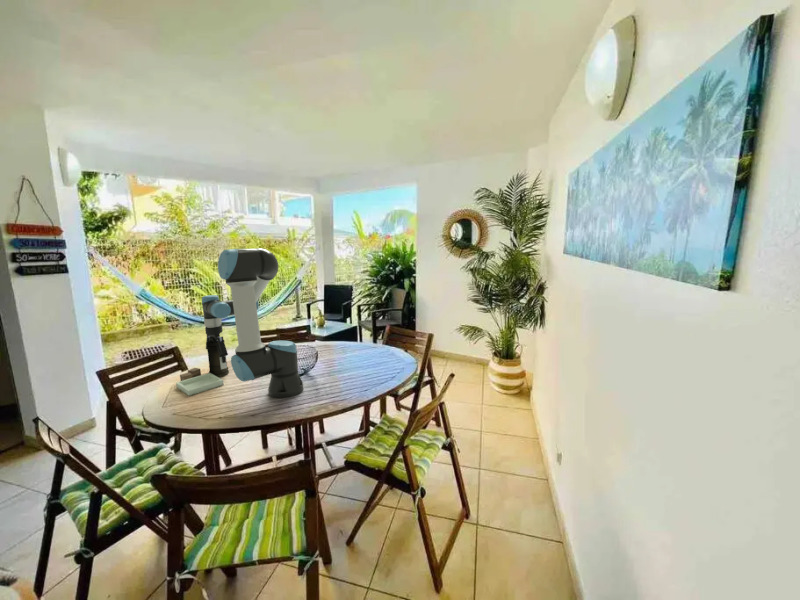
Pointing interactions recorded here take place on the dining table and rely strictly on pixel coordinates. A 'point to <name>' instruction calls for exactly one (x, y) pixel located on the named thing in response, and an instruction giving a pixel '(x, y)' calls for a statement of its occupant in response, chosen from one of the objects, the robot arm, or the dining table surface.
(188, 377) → the walnut block
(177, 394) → the dining table surface
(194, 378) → the tray
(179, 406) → the dining table surface
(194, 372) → the walnut block
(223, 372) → the container
